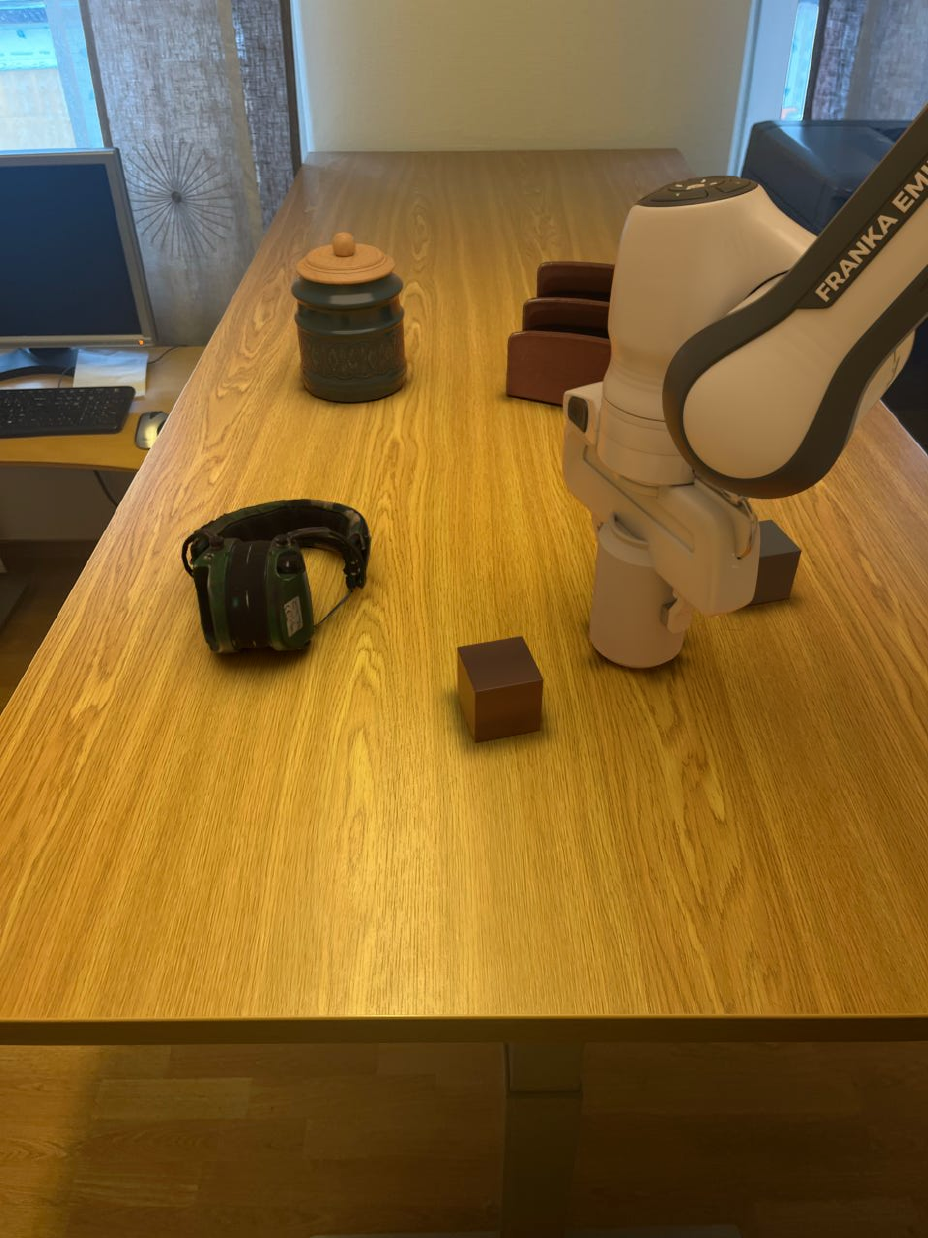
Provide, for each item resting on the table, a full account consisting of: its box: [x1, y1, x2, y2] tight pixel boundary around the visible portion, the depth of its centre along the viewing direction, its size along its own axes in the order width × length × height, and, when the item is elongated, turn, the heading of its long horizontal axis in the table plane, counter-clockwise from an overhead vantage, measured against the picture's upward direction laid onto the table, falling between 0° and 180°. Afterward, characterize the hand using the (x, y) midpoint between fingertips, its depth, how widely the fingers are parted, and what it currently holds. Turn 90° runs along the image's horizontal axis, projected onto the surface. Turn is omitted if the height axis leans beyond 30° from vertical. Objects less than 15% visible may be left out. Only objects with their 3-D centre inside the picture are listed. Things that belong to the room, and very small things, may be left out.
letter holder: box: [505, 260, 615, 407], centre depth 109 cm, size 10×20×14 cm, turn 65°
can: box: [588, 511, 686, 669], centre depth 73 cm, size 8×8×12 cm
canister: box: [290, 231, 408, 403], centre depth 111 cm, size 13×13×18 cm
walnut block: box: [456, 635, 545, 743], centre depth 69 cm, size 5×5×5 cm
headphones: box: [180, 498, 373, 654], centre depth 78 cm, size 13×13×20 cm
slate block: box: [745, 519, 803, 607], centre depth 81 cm, size 5×5×5 cm
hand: (641, 594), depth 73 cm, fingers closed on can, 8 cm apart
